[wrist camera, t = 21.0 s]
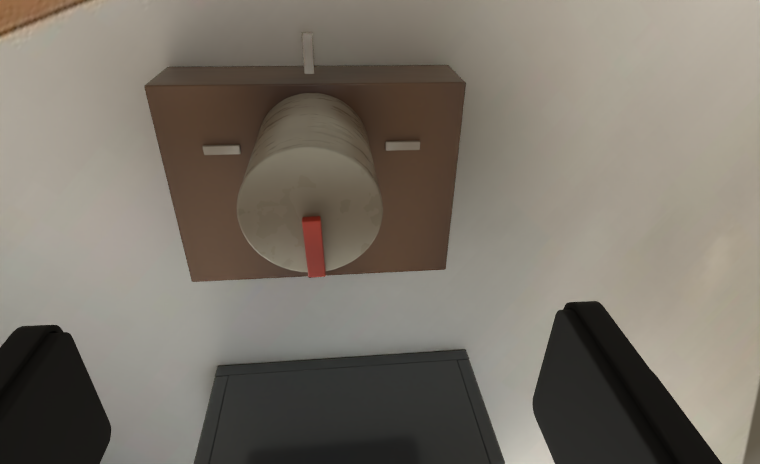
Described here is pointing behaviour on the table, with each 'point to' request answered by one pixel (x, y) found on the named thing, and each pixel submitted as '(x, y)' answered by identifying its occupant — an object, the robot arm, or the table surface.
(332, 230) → the tap knob
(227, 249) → the panel
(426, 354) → the grey storage bin
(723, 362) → the table surface
